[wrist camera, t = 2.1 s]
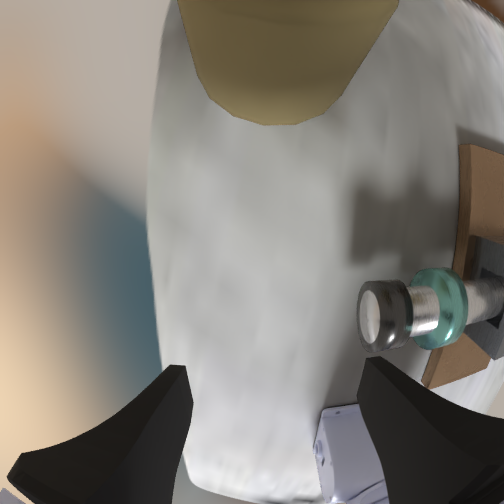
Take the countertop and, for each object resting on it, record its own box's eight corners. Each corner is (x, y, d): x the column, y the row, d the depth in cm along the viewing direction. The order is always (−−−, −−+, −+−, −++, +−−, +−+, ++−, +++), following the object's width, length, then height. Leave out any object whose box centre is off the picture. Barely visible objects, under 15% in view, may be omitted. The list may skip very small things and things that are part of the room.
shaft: (350, 332, 17) (376, 378, 12) (358, 261, 16) (395, 292, 11) (491, 307, 17) (524, 331, 12) (503, 254, 15) (541, 271, 11)
